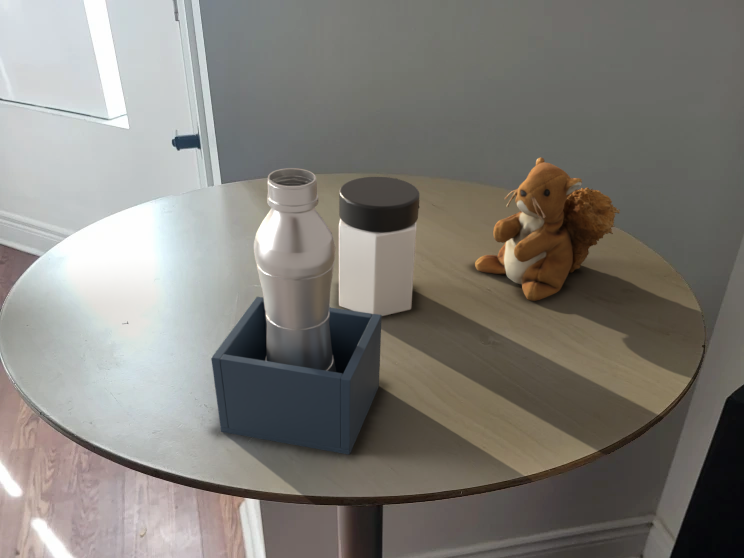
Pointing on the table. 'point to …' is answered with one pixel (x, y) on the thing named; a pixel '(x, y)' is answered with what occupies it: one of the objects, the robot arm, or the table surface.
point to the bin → (298, 383)
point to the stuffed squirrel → (548, 231)
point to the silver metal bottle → (296, 272)
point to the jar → (377, 244)
